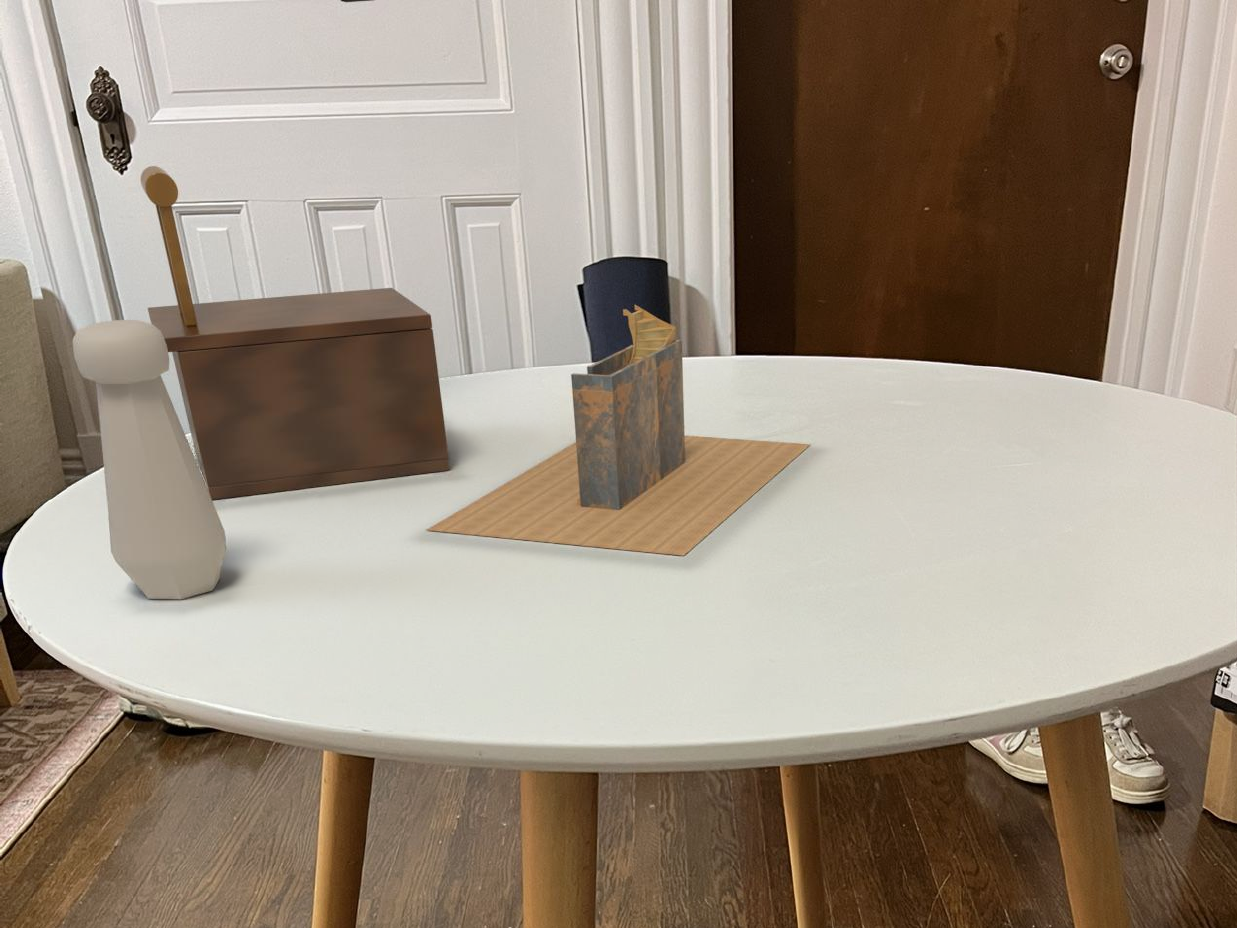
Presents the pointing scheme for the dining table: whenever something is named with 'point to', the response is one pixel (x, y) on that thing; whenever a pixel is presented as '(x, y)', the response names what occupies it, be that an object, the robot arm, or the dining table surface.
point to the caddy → (314, 411)
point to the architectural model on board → (629, 463)
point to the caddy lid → (264, 302)
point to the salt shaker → (149, 465)
